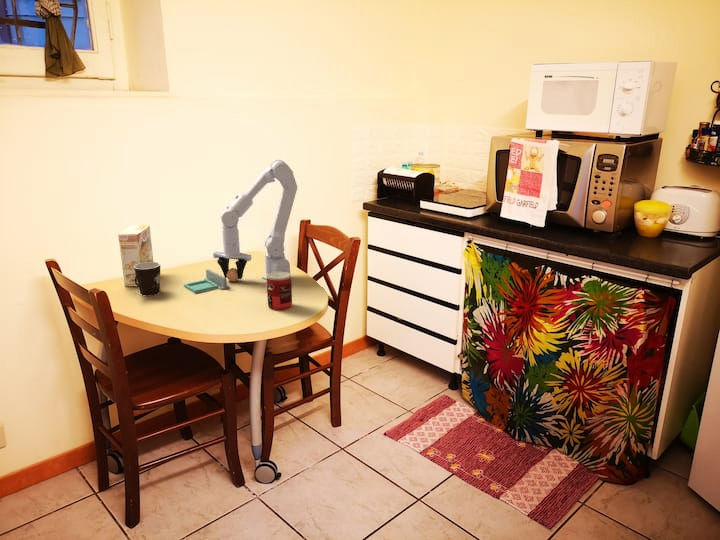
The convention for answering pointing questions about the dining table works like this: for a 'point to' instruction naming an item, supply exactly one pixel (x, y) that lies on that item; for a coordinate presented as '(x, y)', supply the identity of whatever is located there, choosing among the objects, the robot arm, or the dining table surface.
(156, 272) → the coffee mug
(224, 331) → the dining table surface
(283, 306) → the canned food
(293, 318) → the dining table surface
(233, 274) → the ball
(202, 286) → the coaster
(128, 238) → the coffeecake box
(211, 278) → the wall
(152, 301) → the dining table surface
